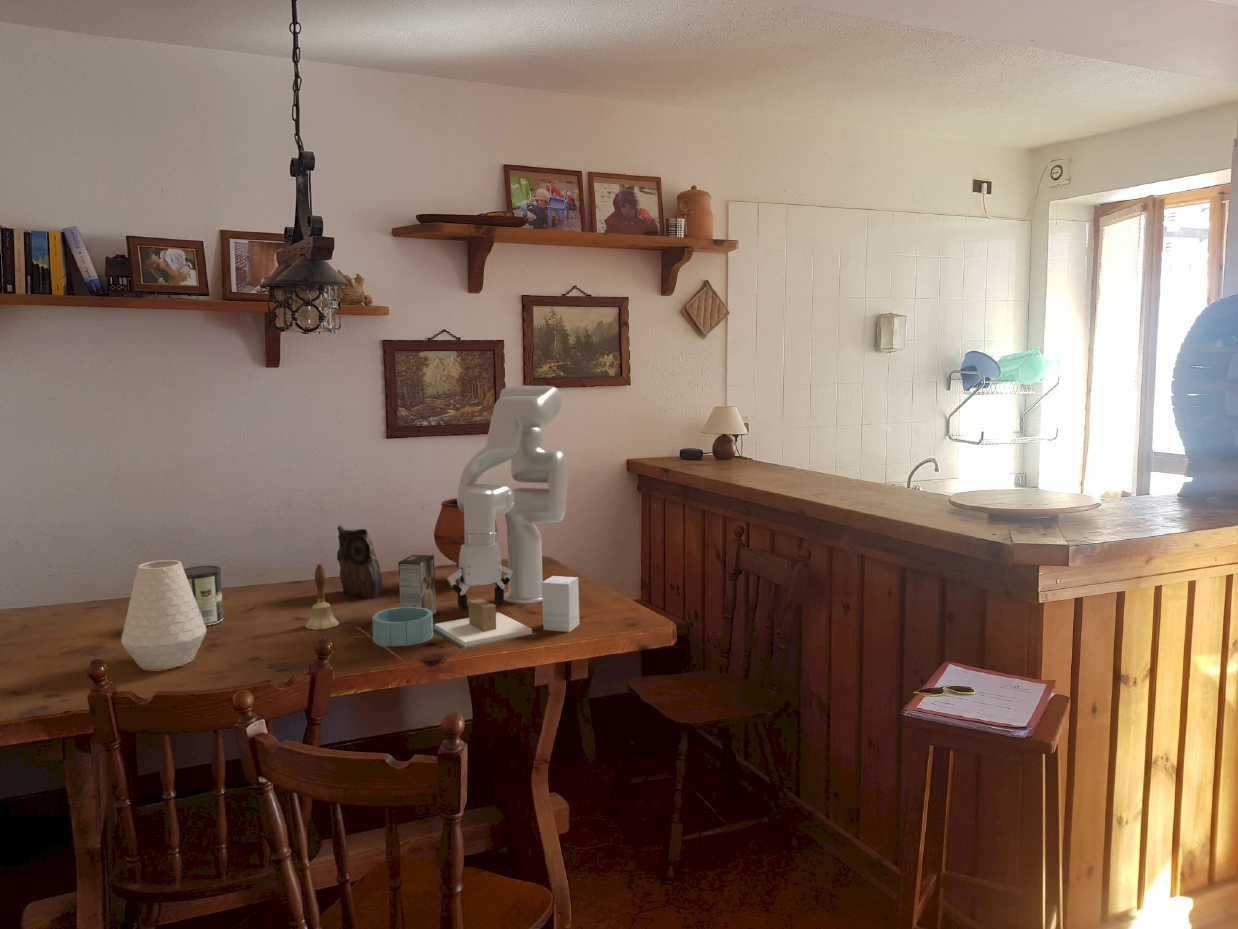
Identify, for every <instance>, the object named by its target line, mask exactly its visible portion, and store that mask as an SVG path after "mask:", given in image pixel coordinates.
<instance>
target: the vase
mask: <svg viewBox="0 0 1238 929" xmlns="http://www.w3.org/2000/svg"><path fill="white" fill-rule="evenodd" d="M184 569H185V568H184V567H183V564H182V561H180V560H176V559H164V560H163V559H162V560H153V561H148V562H147V561H146V562H144V563H141V564H139V565H137V569H136V574H135V578H134V583H133V587H132V590H131V595H130V600H129V603H128V608H127V612H126V618H125V621H124V626H123V631H122V634H121V639H120V641H121V644H122V646H123V647H124V649H125V650H126V651H127V653H128V654H129V655H130V656H131V658H132V659H133V660H134V662H135V664H136V665H137V666H138V667H139V668H140V667H142V668H145V669H167V668H171V667H176V666H181V665H183V664H186V663H188V662H191V661H192V660H193V661H194V659H195V656H196V655H197V653H198V650H199V648H200V647H201V644H202V643H203V641H204V638H205V637H206V635H207V631H208V629H207V627H206V626H205V623H204V621H203V618H202V616H201V613H200V610H199V608H198V605H197V603H196V600H195V597H194V595H193V592H192V590H191V587H190V584H189V582H188V579H187V577H186V574H185V571H184ZM193 661H192V662H193ZM192 662H191V663H192Z"/></svg>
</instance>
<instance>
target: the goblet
mask: <svg viewBox="0 0 1238 929" xmlns="http://www.w3.org/2000/svg"><path fill="white" fill-rule="evenodd" d="M440 505H441V508H440V512H439V514H438V516H437V519H436V523H435V527H434V531H433V538H434V543H435V546H436V547H437V550H438V551H439V552H440V553H441V554H442V555H443V556H444V557H445V558H447V560H449V561H452V562H453V563H456V566H455V567H456V568H458V566H459V556H460V550H461V545H464V544H465V537H464V512H463V511H461V510H460V508H459V507H458V503H457V497H455V498H449V499H446V500H445V499H444V500H443V501H442V502H441V504H440ZM495 531H496V532H498V525H497V521H496V520H495ZM497 539H498V538H496V541H495V542H496V543H497ZM455 582H456V584H457V585H460V582H459V581H458V579H456V580H455Z"/></svg>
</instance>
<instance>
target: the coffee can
mask: <svg viewBox="0 0 1238 929" xmlns="http://www.w3.org/2000/svg"><path fill="white" fill-rule="evenodd" d="M183 569H184V571H185V574H186V577H187V579H188V582H189V584H190V587H191V590H192V592H193V595H194V597H195V600H196V603H197V605H198V608H199V610H200V613H201V616H202V618H203V621H204V623H205V626H206V625H211V624H216V623H219V622H220V621H222V620H223V619H224V607H223V595H222V594H223V592H222V578H221V570H222V569H221V567H220V566H218V565H199V566H198V565H196V566H191V567H186V568H183ZM224 620H225V619H224ZM219 624H220V623H219Z"/></svg>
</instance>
